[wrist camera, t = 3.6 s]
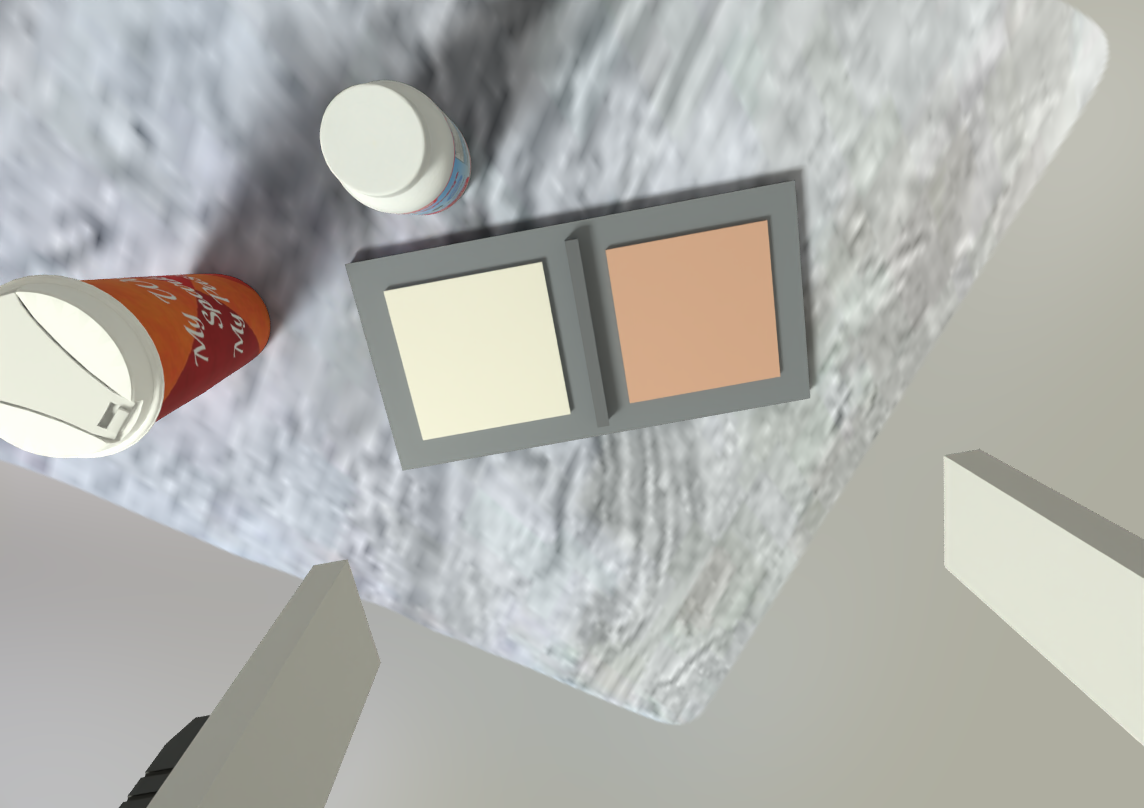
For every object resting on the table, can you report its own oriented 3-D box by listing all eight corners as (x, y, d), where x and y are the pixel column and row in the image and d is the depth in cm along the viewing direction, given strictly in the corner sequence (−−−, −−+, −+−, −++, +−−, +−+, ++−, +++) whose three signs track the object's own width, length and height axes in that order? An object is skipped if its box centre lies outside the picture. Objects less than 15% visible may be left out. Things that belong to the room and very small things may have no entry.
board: (350, 263, 40) (338, 265, 37) (789, 181, 39) (802, 179, 37) (406, 465, 44) (398, 477, 42) (804, 394, 43) (817, 403, 41)
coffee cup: (312, 306, 40) (178, 357, 26) (251, 405, 42) (93, 503, 28) (192, 226, 39) (-21, 233, 24) (134, 332, 40) (-97, 397, 26)
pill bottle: (401, 230, 39) (343, 235, 28) (355, 132, 37) (274, 99, 27) (489, 191, 39) (464, 182, 28) (447, 90, 37) (402, 39, 26)
